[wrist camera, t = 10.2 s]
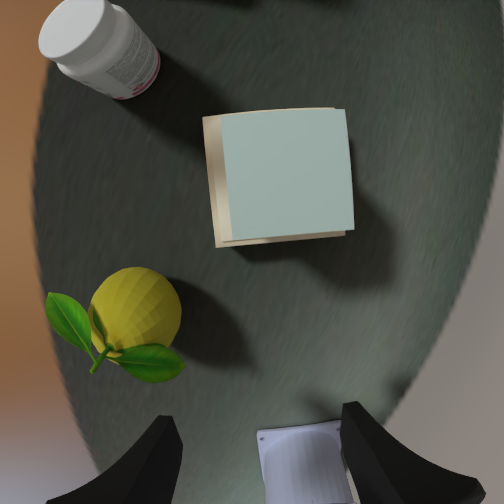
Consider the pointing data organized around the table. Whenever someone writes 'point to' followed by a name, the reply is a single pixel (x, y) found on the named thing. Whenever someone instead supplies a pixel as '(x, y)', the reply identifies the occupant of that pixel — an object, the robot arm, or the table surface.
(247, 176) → the teal block
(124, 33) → the pill bottle
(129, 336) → the lemon
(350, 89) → the table surface
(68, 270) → the table surface
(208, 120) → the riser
